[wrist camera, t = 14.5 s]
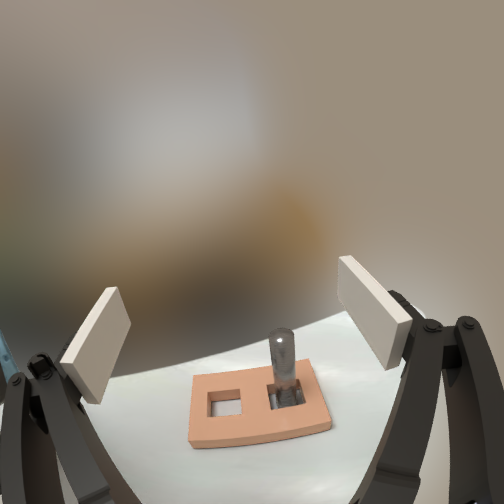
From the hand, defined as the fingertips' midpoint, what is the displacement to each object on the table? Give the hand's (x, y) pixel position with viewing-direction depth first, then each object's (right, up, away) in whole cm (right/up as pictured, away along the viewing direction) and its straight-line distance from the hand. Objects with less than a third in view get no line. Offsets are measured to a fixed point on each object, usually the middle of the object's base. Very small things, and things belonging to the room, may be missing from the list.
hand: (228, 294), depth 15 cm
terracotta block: (+2, -21, +21) cm, 30 cm away
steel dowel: (+7, -20, +21) cm, 30 cm away
